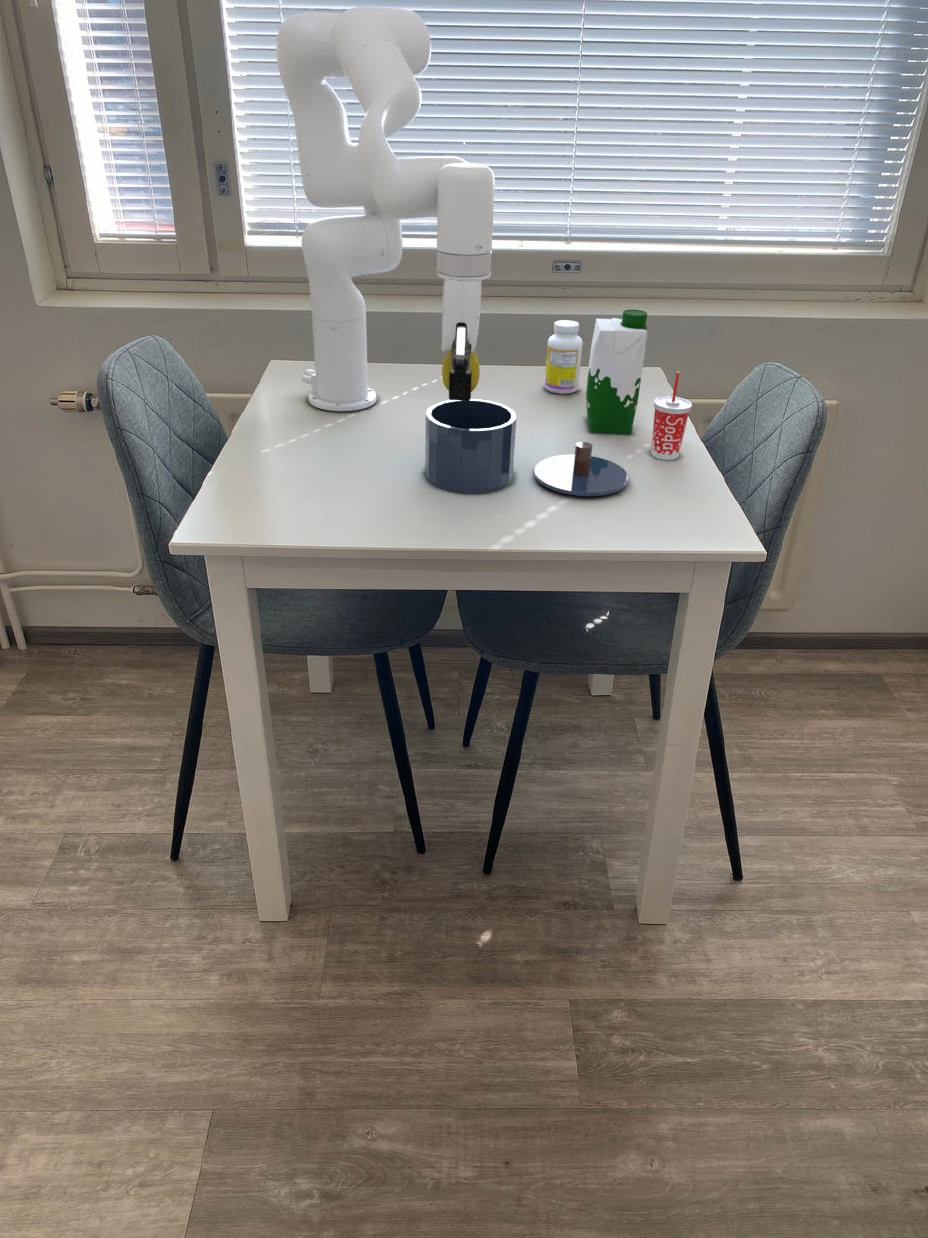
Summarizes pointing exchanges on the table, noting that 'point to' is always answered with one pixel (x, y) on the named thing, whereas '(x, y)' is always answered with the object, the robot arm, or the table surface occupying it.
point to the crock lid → (581, 473)
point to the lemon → (473, 366)
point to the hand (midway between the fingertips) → (460, 391)
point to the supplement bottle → (563, 358)
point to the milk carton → (615, 372)
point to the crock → (470, 445)
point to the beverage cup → (669, 425)
